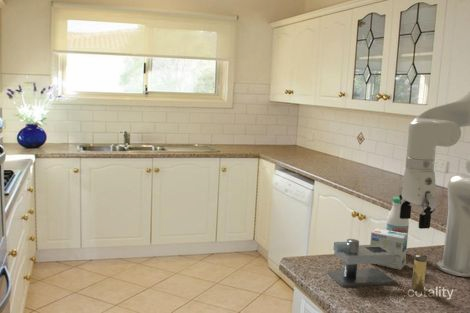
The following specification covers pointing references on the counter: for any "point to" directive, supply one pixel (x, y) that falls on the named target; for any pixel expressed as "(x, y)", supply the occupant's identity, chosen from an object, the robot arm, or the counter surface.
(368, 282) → the grey metal stand
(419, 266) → the pin
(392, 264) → the light bulb box
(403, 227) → the milk bottle
